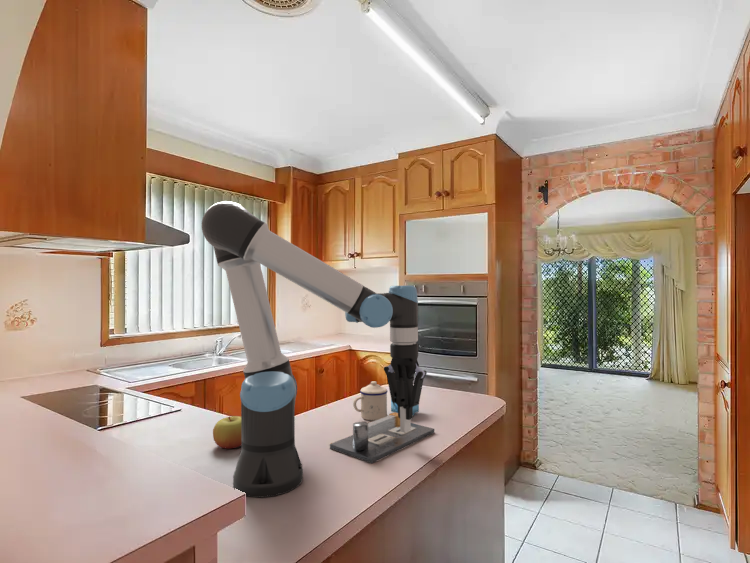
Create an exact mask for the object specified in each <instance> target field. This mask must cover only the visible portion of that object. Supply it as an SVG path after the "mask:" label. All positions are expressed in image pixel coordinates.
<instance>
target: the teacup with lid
mask: <svg viewBox="0 0 750 563" xmlns="http://www.w3.org/2000/svg"><path fill="white" fill-rule="evenodd" d="M377 383H378V382H377V381H370V383H369V384H367V385H366V386H363V387H362V388H361V389H360V390H359V392H360V396H357V397H355V398H354V399H353V402H352V405H353V409H354V410H355V411H356V412H358V413H360V416H361V418H362V419H363V420H367V421H376V420H378V419H381V418H384V417H386V416H388V395H387V393H388V389H387V388H386V387H385V386H381V385H380V384H377ZM359 400H360V409H359V408H358V406H357V402H358V401H359Z"/></svg>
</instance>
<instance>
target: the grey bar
mask: <svg viewBox="0 0 750 563" xmlns="http://www.w3.org/2000/svg"><path fill="white" fill-rule="evenodd" d="M395 427H400V418H399V417H398V413H396V412H392V413H388V415H387V416H386V417H384V418H381V419H378V420H372V421H371V422H365V421H356V422H354V423H352V435H353V448H354V449H355V450H366V449H368V438H371V437H373V436H375V435H378V434H380V433H383V432H385V431H387V430H390V429H392V428H395Z"/></svg>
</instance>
